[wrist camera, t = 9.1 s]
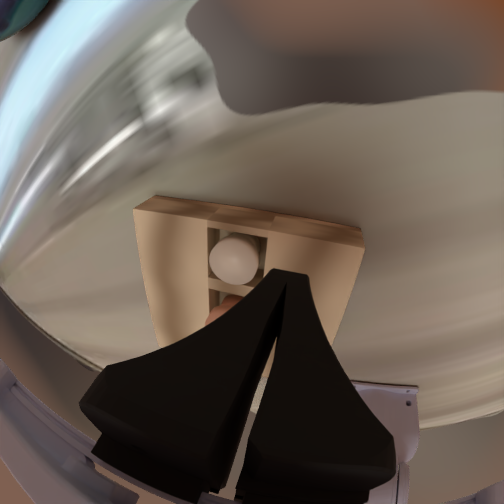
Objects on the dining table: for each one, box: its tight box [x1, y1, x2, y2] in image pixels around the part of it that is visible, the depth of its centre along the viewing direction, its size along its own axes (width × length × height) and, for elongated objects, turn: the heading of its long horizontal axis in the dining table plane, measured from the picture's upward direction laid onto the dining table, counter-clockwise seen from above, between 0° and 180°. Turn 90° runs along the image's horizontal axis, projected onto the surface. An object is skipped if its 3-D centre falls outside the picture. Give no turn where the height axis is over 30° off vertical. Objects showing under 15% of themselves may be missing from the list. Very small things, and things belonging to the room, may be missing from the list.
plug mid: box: [205, 295, 243, 326], centre depth 20 cm, size 3×3×3 cm
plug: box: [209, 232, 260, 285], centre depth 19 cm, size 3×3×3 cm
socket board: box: [133, 196, 365, 378], centre depth 22 cm, size 16×15×3 cm
